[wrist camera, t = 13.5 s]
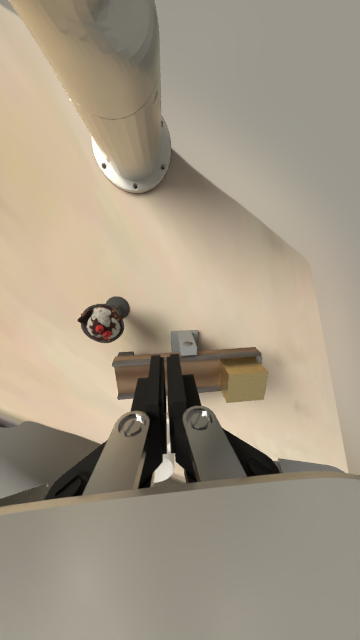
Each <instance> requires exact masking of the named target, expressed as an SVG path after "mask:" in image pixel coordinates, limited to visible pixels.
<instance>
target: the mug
mask: <svg viewBox="0 0 360 640" xmlns="http://www.w3.org/2000/svg"><path fill="white" fill-rule="evenodd" d="M166 419H167V454H163V463H161V464H160V466H159V467H158V468H157V469H156V470H155V477H154V482H161V481H164V480H166V479H167V478H169V477H170V476H171V475H172V473H173V471H174V453H171V449H170V431H169V414H168V413H166Z"/></svg>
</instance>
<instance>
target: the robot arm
mask: <svg viewBox="0 0 360 640" xmlns="http://www.w3.org/2000/svg"><path fill="white" fill-rule="evenodd" d="M8 1H9V2H10V4H11V5H12V6H13V8H14V9H15V11H16V12H17V14H18V15H19V16H20V18H21V19H22V21H23V22H24V24H25V25H26V27H27V28H28V30H29V31H30V33H31V34H32V36H33V38H34V39H35V41H36V42H37V44H38V46H39V47H40V49H41V51H42V52H43V54H44V55H45V57H46V59H47V60H48V62H49V64H50V65H51V67H52V69H53V70H54V72H55V74H56V75H57V77H58V79H59V81H60V82H61V84H62V86H63V88H64V89H65V91H66V93H67V94H68V96H69V98H70V100H71V101H72V103H73V105H74V106H75V108H76V110H77V111H78V113H79V115H80V117H81V118H82V120H83V122H84V123H85V125H86V127H87V128H88V130H89V132H90V133H91V140H92V148H93V153H94V156H95V159H96V161H97V164H98V165H99V167H100V169H101V171H102V172H103V174H104V175H105V176H106V177H107V179H108V180H109V181H110V182H111V183H112V184H114V185H115V186H116V187H118V188H120V189H122V190H124V191H127V192H130V193H142V192H146V191H149V190H151V189H153V188H154V187H156V186H157V185H158V184H159V183H160V182H161V181H162V179H163V178H164V176H165V175H166V172H167V170H168V167H169V163H170V159H171V140H170V135H169V131H168V128H167V125H166V123H165V121H164V119H163V117H162V115H161V82H160V39H159V38H160V37H159V24H158V17H157V11H156V5H155V0H8ZM161 127H162V128H161ZM105 167H107V168H106V169H104V168H105ZM162 167H163V168H164V170H162V169H161V168H162ZM135 186H137V189H135ZM167 387H168V413H169V431H170V449H171V453H175V457H176V462H177V463H178V464H179V465H180V466H181V467H183V468H184V475H185V479H186V484H177V485H169V486H160V487H153V483H154V477H155V470H156V469H157V468H158V467H159V466H160V464H161V463H163V454H167V419H166V386H165V369H164V357H160V355H151V360H150V368H149V376H148V377H146V378H138V380H137V384H136V389H135V394H134V398H133V403H132V408H131V412H128V413H126V414H124V415H122V416H121V417H120V418H119V419H118V420H117V422H116V423H115V425H114V428H113V430H112V432H111V434H110V436H109V438H108V440H107V441H106V442H104V443H103V444H102V445H100V446H99V447H98V448H97V449H95V450H94V451H93V452H92V453H90V454H89V455H88V456H86V457H85V458H84V459H83V460H81V461H80V462H79V463H78V464H76V465H75V466H74V467H72V468H71V469H70V470H69V471H67V472H66V473H65V474H64V475H62V476H61V477H60V478H59V479H58V480H57V481H56V482H55V483H54V484H53V485H51V486H48V484H47V483H46V484H43V485H40V486H38V487H34V488H31V489H28V490H25V491H22V492H19V493H17V494H14V495H11V496H7V497H5V498H1V499H0V640H360V475H354V474H348V473H345V472H343V471H341V470H339V469H338V468H336V467H332V466H329V465H322V464H315V463H308V462H301V461H294V460H286V459H279V458H278V461H272V459H271V458H269V457H268V456H267V455H265V454H264V453H262V452H260V451H259V450H257V449H256V448H254V447H252V446H251V445H249V444H247V443H246V442H244V441H242V440H241V439H239V438H238V437H236V436H234V435H233V434H231V433H229V432H228V431H226V430H224V429H223V428H222V427H221V425H220V423H219V421H218V420H217V418H216V416H215V414H214V413H213V411H211V410H210V409H209V408H207V407H204V406H201V402H200V398H199V395H198V391H197V387H196V383H195V379H194V375H193V374H189V375H182V371H181V365H180V358H179V354H170V357H167Z"/></svg>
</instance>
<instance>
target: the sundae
mask: <svg viewBox="0 0 360 640" xmlns="http://www.w3.org/2000/svg"><path fill="white" fill-rule="evenodd" d="M128 313H129V305H128V303H127V301H126V300H125V299H123V298H121V297H112V298H110V299H109V300H108V301H107V302H106V304H96V305H93V306H90V307H88V308H87V309H86V310H85V311H84V312H83V313H82V314H81V317H80V318H79V319H78V322H80V323H81V327H82V330H83V332H84V333H85V334H86V335H87V336H88V337H89V338H91V339H93V340H95V341H97V342H100V343H110V342H113V341H115V340H116V339H118V338H119V337H120V336H121V334H122V333H123V330H124V322H123V319H122V318H125V317H126V316H127V315H128Z"/></svg>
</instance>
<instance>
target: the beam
mask: <svg viewBox="0 0 360 640" xmlns="http://www.w3.org/2000/svg"><path fill="white" fill-rule="evenodd" d="M170 354H179V358H180V365H181V371H182V375H189V374H193V375H194V379H195V383H196V387H197V391H198V393H201V392H213V391H221V389H220V387H219V368H220V359H233V358H247V357H255V358H256V359H257V360H258V362H259V363H260V364H261V363H262V357H261V352H259V351H258V350H257V349H256V348H255V347H252V348H237V349H222V350H208V351H197V355H186V356H181V354H180V352H178V353H163V354H149V355H134V352H119V354H118V356H117V357H115V358H114V361H113V363H112V367H114V368H115V374H116V381H117V387H118V393H119V394H118V397H117V398H118V400H121V399H133V398H134V394H135V389H136V384H137V380H138V378H146V377H148V376H149V368H150V360H151V355H160V357H164V369H165V386H166V396H167V395H168V387H167V357H170Z"/></svg>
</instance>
